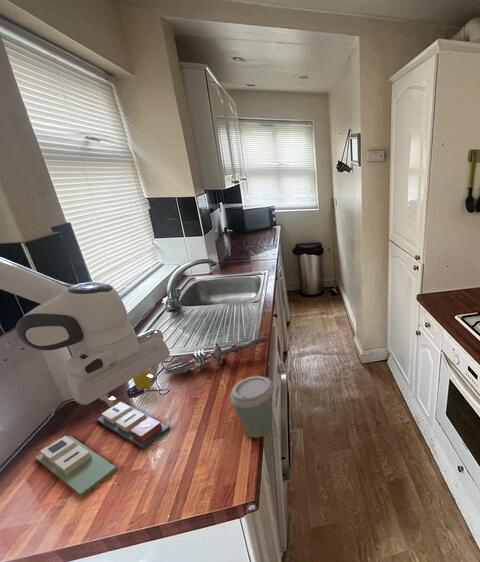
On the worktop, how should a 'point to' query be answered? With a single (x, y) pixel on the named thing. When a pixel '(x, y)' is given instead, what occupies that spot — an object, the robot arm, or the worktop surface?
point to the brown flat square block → (146, 429)
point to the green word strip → (83, 472)
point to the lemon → (143, 380)
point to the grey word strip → (133, 439)
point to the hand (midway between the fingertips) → (134, 392)
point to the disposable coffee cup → (254, 404)
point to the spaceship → (184, 364)
